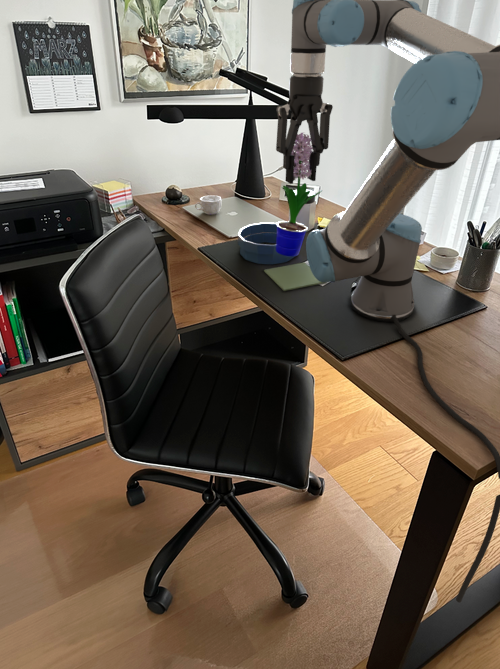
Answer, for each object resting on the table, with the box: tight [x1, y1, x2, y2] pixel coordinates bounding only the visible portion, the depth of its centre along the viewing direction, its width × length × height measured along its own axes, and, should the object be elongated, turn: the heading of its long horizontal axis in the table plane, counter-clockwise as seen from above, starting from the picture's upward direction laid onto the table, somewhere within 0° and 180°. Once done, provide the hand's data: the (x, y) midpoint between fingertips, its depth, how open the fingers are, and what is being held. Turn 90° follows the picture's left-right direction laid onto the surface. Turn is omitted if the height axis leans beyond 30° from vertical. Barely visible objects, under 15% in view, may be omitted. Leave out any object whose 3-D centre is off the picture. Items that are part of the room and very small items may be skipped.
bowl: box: [237, 222, 296, 265], centre depth 144 cm, size 18×18×6 cm
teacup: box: [194, 194, 222, 216], centre depth 174 cm, size 10×8×5 cm
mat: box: [263, 262, 328, 292], centre depth 132 cm, size 13×13×1 cm
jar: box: [288, 189, 317, 232], centre depth 161 cm, size 9×8×12 cm
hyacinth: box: [275, 132, 323, 257], centre depth 120 cm, size 9×10×30 cm
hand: (300, 180), depth 118 cm, fingers closed on hyacinth, 5 cm apart
